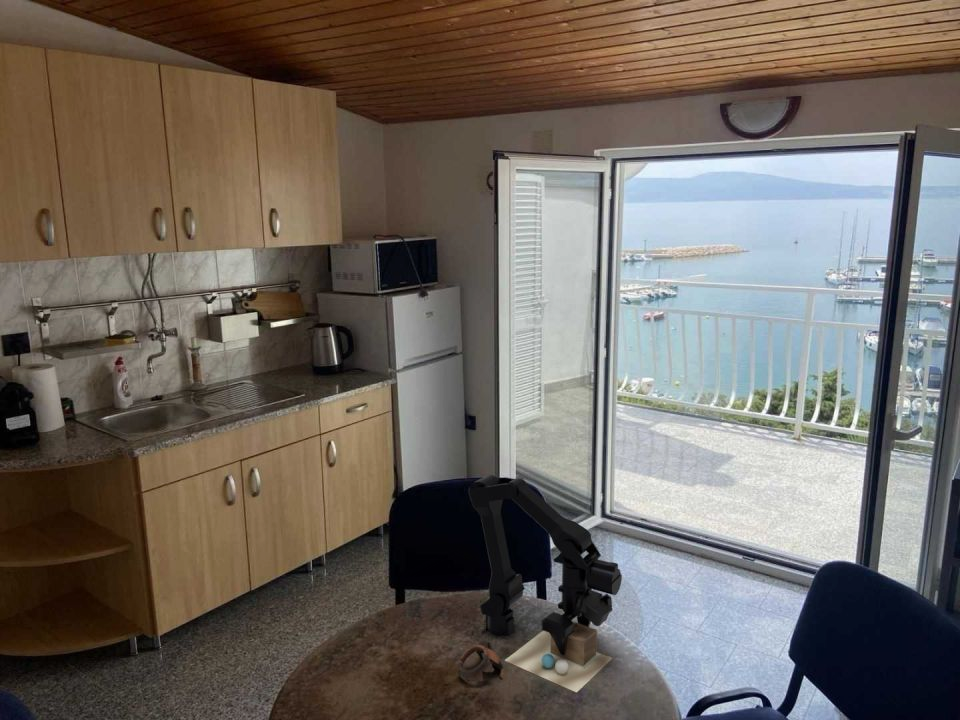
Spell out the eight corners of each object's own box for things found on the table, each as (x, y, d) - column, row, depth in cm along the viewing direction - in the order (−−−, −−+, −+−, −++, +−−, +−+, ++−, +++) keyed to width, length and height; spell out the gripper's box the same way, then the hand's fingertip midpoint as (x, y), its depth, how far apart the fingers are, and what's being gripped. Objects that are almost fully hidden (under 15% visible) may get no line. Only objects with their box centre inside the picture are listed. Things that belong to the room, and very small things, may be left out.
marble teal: (538, 667, 158) (538, 655, 158) (546, 661, 161) (546, 649, 160) (550, 672, 157) (550, 660, 156) (557, 666, 159) (557, 653, 158)
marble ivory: (552, 673, 156) (552, 661, 156) (559, 667, 158) (559, 654, 158) (563, 678, 154) (564, 665, 154) (571, 672, 157) (571, 659, 156)
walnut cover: (550, 653, 164) (550, 625, 163) (564, 641, 169) (564, 614, 168) (582, 666, 159) (583, 637, 158) (596, 653, 163) (597, 626, 162)
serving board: (504, 664, 161) (504, 660, 161) (543, 634, 174) (543, 630, 174) (576, 696, 150) (576, 692, 149) (612, 662, 162) (612, 657, 162)
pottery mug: (508, 692, 152) (491, 667, 149) (470, 706, 154) (452, 681, 151) (508, 649, 163) (492, 624, 160) (472, 662, 165) (455, 638, 162)
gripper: (584, 610, 149) (583, 677, 151) (625, 577, 163) (623, 640, 166) (540, 594, 156) (539, 659, 158) (583, 564, 170) (582, 624, 172)
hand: (573, 645), depth 163 cm, fingers open, 9 cm apart
